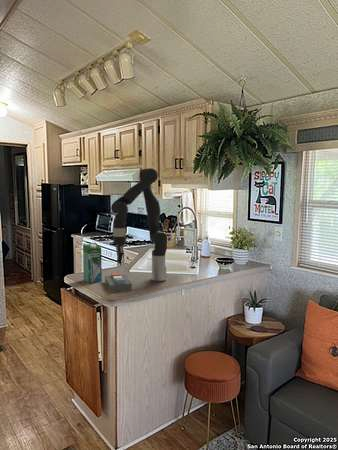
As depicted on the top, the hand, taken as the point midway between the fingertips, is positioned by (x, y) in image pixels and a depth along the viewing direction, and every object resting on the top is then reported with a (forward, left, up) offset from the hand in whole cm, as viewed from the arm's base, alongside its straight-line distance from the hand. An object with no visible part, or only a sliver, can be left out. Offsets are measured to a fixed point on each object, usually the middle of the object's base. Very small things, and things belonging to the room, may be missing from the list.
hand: (119, 263), depth 201 cm
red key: (0, -14, -13) cm, 20 cm away
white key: (0, -7, -14) cm, 15 cm away
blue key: (0, 0, -13) cm, 13 cm away
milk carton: (+14, -23, -17) cm, 32 cm away
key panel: (0, -7, -16) cm, 18 cm away
